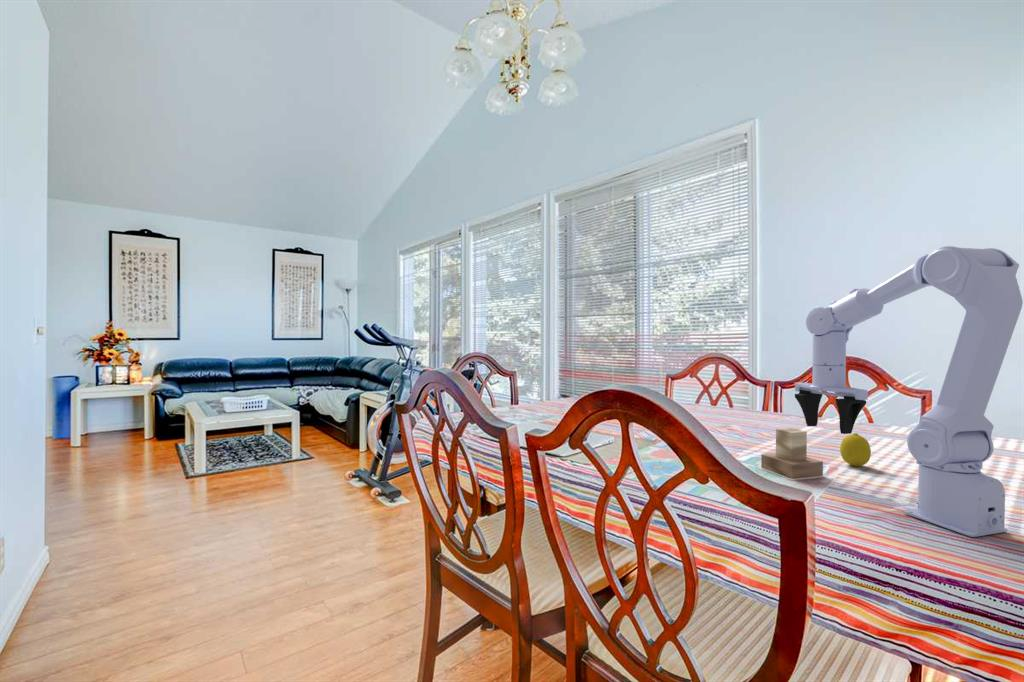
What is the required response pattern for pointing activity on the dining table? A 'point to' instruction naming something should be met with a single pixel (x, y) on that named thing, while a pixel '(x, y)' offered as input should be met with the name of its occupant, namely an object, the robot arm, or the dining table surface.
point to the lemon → (855, 450)
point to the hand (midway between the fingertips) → (828, 429)
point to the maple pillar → (791, 444)
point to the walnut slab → (792, 466)
